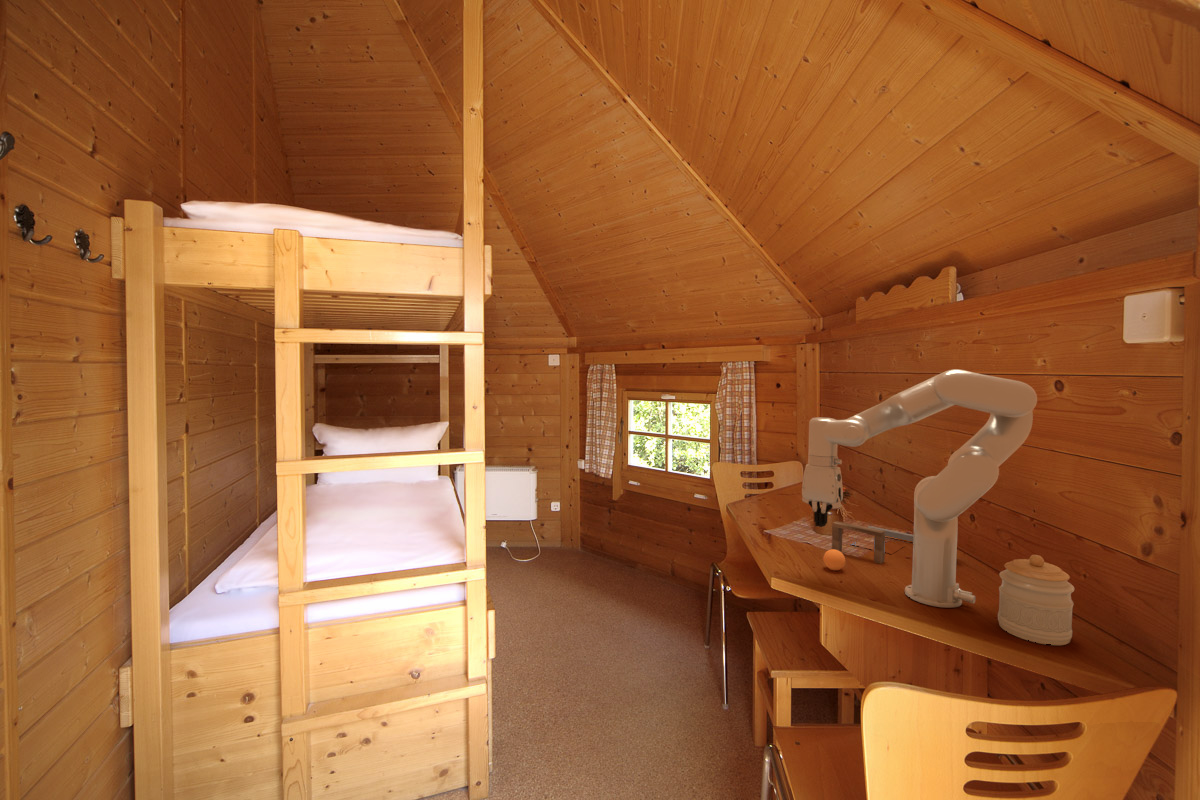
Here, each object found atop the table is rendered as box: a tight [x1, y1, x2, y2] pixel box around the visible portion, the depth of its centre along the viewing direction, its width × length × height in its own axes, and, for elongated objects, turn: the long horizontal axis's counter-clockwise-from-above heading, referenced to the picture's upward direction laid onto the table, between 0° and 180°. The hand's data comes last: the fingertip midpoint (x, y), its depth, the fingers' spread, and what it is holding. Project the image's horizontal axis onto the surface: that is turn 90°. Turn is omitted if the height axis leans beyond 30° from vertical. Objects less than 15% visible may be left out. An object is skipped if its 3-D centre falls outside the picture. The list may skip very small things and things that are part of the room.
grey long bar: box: [866, 525, 914, 542], centre depth 189 cm, size 16×2×2 cm, turn 43°
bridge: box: [831, 520, 886, 565], centre depth 168 cm, size 3×15×10 cm, turn 43°
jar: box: [997, 554, 1075, 646], centre depth 119 cm, size 13×13×18 cm
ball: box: [822, 548, 846, 571], centre depth 157 cm, size 6×6×6 cm
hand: (820, 525), depth 150 cm, fingers closed
